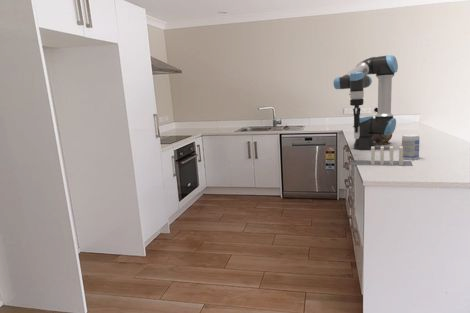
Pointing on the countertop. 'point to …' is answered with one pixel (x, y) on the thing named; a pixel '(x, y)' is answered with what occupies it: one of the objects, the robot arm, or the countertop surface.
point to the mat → (386, 163)
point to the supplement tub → (410, 146)
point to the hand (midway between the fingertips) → (356, 137)
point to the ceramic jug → (381, 136)
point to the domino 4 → (400, 155)
